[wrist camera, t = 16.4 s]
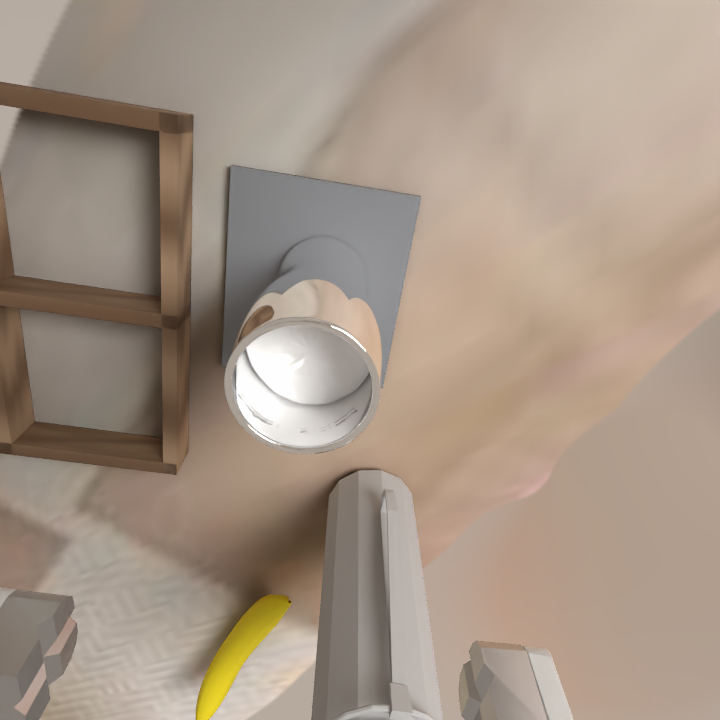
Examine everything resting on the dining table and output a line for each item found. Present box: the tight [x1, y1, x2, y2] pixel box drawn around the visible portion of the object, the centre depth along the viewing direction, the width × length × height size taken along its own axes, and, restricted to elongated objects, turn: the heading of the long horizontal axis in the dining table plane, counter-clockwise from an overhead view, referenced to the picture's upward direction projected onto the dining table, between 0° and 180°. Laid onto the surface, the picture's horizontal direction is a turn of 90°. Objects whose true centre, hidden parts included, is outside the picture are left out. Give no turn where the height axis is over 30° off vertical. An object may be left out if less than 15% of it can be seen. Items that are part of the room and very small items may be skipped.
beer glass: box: [224, 237, 382, 454], centre depth 28 cm, size 7×7×15 cm
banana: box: [196, 595, 292, 720], centre depth 47 cm, size 3×19×6 cm, turn 149°
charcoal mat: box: [222, 165, 421, 389], centre depth 35 cm, size 14×12×1 cm
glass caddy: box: [0, 82, 193, 475], centre depth 35 cm, size 25×13×3 cm, turn 171°
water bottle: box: [311, 470, 443, 720], centre depth 32 cm, size 9×8×25 cm
